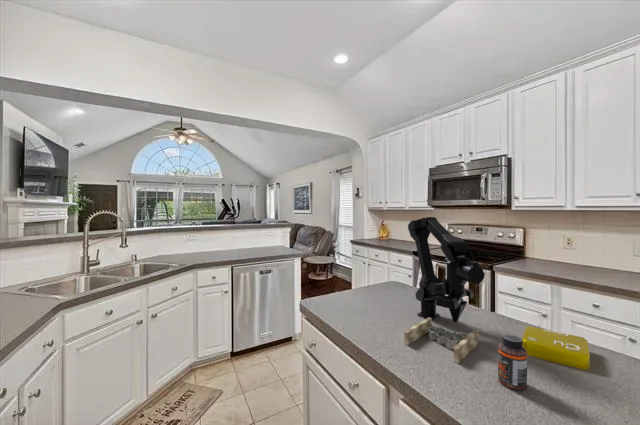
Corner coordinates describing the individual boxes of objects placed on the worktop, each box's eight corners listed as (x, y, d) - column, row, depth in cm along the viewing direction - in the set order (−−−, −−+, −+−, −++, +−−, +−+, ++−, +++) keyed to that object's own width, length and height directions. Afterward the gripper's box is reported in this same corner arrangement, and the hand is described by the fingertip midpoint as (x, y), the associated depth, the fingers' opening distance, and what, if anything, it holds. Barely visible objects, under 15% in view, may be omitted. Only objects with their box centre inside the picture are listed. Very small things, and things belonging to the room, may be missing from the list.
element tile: (586, 351, 88) (586, 336, 88) (590, 373, 76) (590, 355, 76) (526, 337, 98) (526, 323, 98) (521, 354, 86) (521, 338, 86)
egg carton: (468, 347, 91) (468, 334, 90) (449, 352, 88) (450, 338, 88) (442, 333, 100) (442, 322, 100) (424, 337, 98) (425, 325, 98)
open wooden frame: (428, 328, 104) (428, 317, 104) (478, 343, 92) (478, 330, 92) (404, 344, 92) (404, 331, 92) (458, 363, 81) (458, 348, 81)
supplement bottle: (492, 377, 74) (492, 332, 74) (514, 376, 74) (514, 332, 74) (509, 392, 68) (509, 343, 68) (533, 390, 68) (533, 342, 68)
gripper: (443, 269, 113) (443, 309, 113) (420, 277, 100) (420, 323, 100) (474, 274, 105) (474, 317, 105) (454, 283, 92) (454, 332, 92)
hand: (455, 322), depth 100 cm, fingers closed
